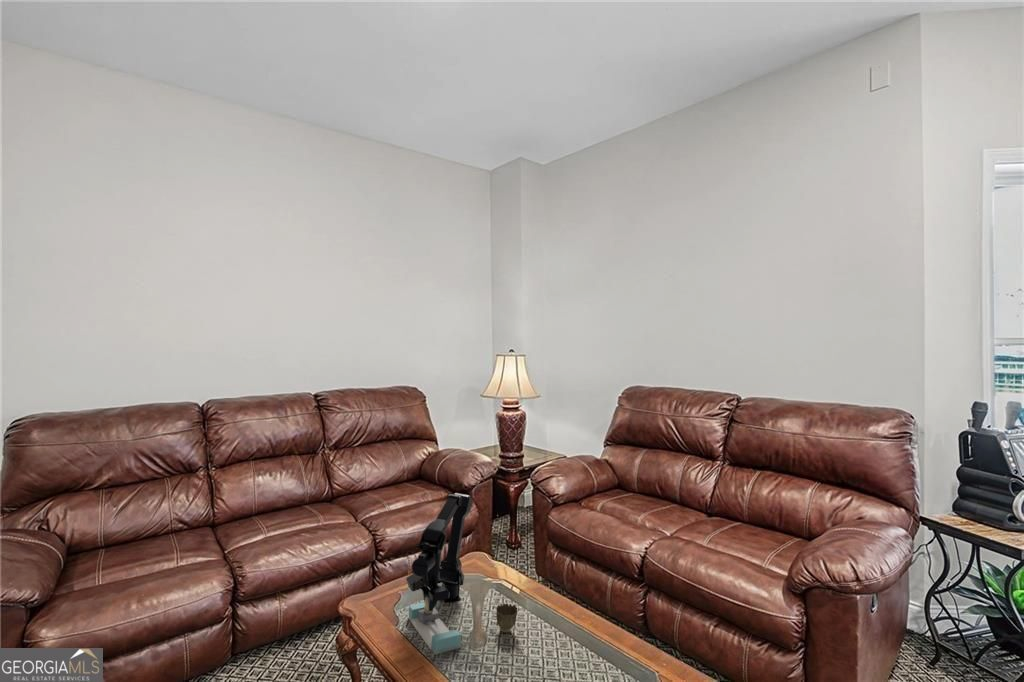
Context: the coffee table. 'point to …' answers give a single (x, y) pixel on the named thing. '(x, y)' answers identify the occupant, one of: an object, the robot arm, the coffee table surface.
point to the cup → (506, 617)
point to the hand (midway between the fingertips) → (428, 608)
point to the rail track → (434, 632)
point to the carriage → (427, 613)
